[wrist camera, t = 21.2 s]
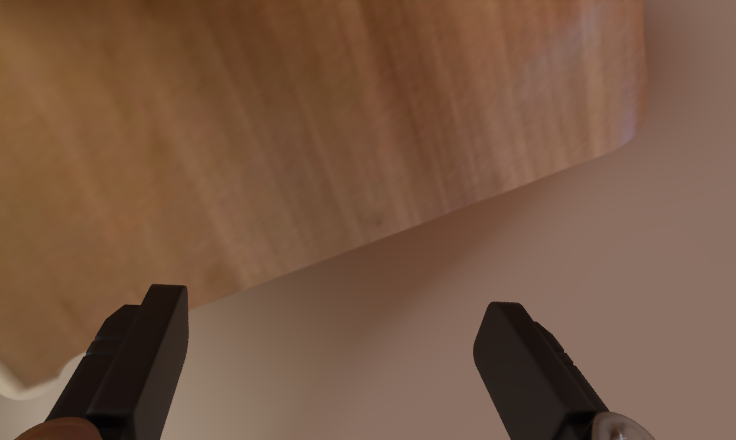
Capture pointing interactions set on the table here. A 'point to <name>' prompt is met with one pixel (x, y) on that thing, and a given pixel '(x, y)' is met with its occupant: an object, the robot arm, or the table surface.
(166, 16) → the table surface
